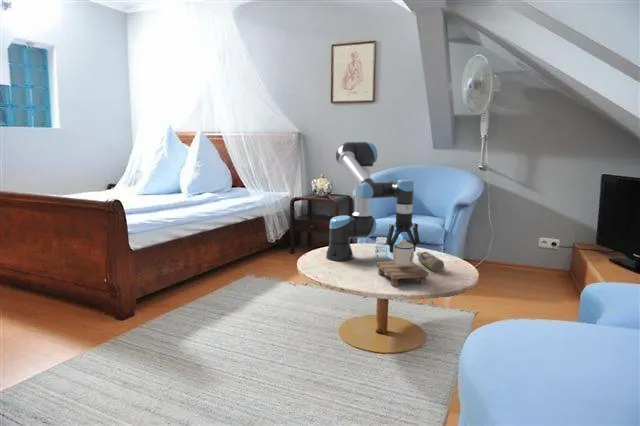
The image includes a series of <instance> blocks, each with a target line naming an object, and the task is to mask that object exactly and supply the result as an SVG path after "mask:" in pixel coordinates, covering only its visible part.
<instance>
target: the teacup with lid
mask: <svg viewBox="0 0 640 426" xmlns="http://www.w3.org/2000/svg"><path fill="white" fill-rule="evenodd" d="M394 246H395V260H393V261H394V263H395V264H397V265H401V266H408V265H411V264H412V263H414V262H413V259H414V258H413V248H414V246H413V244H412V243H411V242H409V241H407V239H405V238H403V239H402V240H401V241H399V242H395V244H394Z"/></svg>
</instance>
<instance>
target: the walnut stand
mask: <svg viewBox="0 0 640 426" xmlns="http://www.w3.org/2000/svg"><path fill="white" fill-rule="evenodd" d="M376 267H377V269H378V273H377V274H378V275H379V276H381V277H382V276H385V274H386V275H387V276H388V277H389V278H390V286H391V287H398V286H399V279H412V278H418V284H419V285H426V282H427V279H426V278H427V277H429V274H430V273H429V272H428V271H427V270H426V269H424V268H422V267H421V266H420V265H418V264H417V263H415V262H413V263H412V264H411V265H408V266H401V265H397V264H395V263H394V260H391V261H379V262H378V261H377V262H376Z"/></svg>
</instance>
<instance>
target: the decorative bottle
mask: <svg viewBox="0 0 640 426" xmlns="http://www.w3.org/2000/svg"><path fill="white" fill-rule="evenodd" d="M416 255H417V257H418V258H417V259H418V262H419V263H421V265H424V266H425V267H427V268H428V269H429V270H430V271H432V272H434V273H440V272H442V271H443V270H444V268H445V262H444V261H443V260H442V259H440V258H439V257H436V256H435V255H433V254H431V253H430V252H428V251H423V252H421V251H418V252H417V253H416Z"/></svg>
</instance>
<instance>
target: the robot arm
mask: <svg viewBox="0 0 640 426" xmlns="http://www.w3.org/2000/svg"><path fill="white" fill-rule="evenodd" d="M378 157H379V156H378V149H377V147H376V145H375V144H374V143H372V142H369V141H368V142H367V141H352V142H351V141H347V142H343V143H342V144H340V145H339V147H338V148H337V149H336V152H335V160H336V162H337V163H338V165H339V167H341V168H343V169H344V170H345V171H346V172H347V173H348V175H349V176H350V178H351V179H352V180H353V182H354V212H353V213H351V216H349V215H337V216H333V217H332V218H330V221H329V245H328V248H327V250H326V254H325V257H326V259H327V260H331V261H337V262H339V261H340V262H344V261H350V260H352V259H354V254H353V250H352V249H353V248H352V246H351V239H362V238H363V239H364V238H365V239H366V238H371V237H372V236H373V235H374V234H375V233H376V231H377V222H376V221H377V220H376V218H375V217H373V213H372V212H371V208H370V207H371V199H381V198H382V199H387V198H389V199H390V198H394V199H396V206H395V207H396V208H395V209H396V210H395V212H396V213H395V223H393V224H391V223H389V229H388V230H389V231H388V234H387V238H386V242H385V244H386V245H387V246H389V253H390V259H391V260H392V261H394V260H395V246H394V245H395V244H396V243H397V240H398V238H399V236H400V235H401V233H406V234H407V236H408V238H409V240H410V243H411V244H413V246H414V248H413V259H415V258H414V255H415V252H416V248H417V247H416V246H418V245H420V243H421V241H420V235H419V229H418V227H419V225H418V223H415V222H413V207H414V206H413V203H414V191H415V189H414V181H413V180H412V179H406V178H405V179H398V180H397V181H393V180H388V181H383V182H382V181H381V182H375V181H374V180H373V178H371V170H372V168H374V164H375V163H377V160H378ZM411 228H412V230H411ZM394 230H395V232H394ZM412 231H413V234H412Z"/></svg>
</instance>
